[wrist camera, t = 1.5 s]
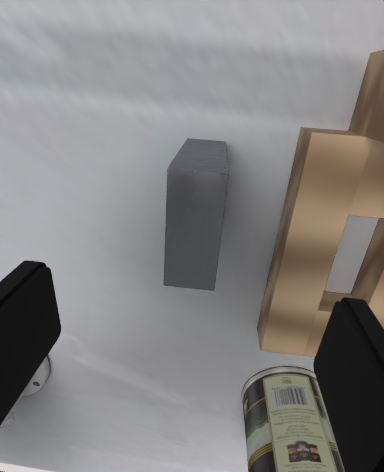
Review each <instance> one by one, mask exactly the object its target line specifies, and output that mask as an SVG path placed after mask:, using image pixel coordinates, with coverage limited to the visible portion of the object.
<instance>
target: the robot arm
mask: <svg viewBox="0 0 384 472" xmlns="http://www.w3.org/2000/svg"><path fill="white" fill-rule="evenodd" d="M60 332H61V324H60V319H59V313H58V307H57V302H56V296H55V291H54V285H53V280H52V274H51V270H50V268H48V267H46V264H45V263H43V262H35V261H24V262H22V263H21V264H20V265H19V266H18V267H17V268H15V269H14V270H13V271H12V272H11V273H10V274H9V275H7V276H6V277H5V278H4V279H3V280H2V281H1V282H0V427H1V426H2V424H3V425H4V426H9V425H11V424H12V423H13V422H14V420H15V417H14V413H13V410H14V408H15V406H16V405H17V403H18V402H19V400H20V399H21V397H26V396H29V395H32V394H34V393H36V392H38V391H39V390H40V389H41V388H42V386H43V385H44V383H45V382H46V380H47V378H48V375H49V369H50V367H49V362H48V359H47V357H46V356H47V355H48V353H49V351H50V350H51V348H52V347H53V345H54V344H55V342H56V341H57V339H58V338H59V336H60ZM314 372H315V376H316V379H317V382H318V385H319V389H320V392H321V395H322V398H323V402H324V405H325V408H326V411H327V415H328V418H329V421H330V424H331V428H332V431H333V434H334V437H335V441H336V444H337V447H338V451H339V454H340V457H341V460H342V464H343V467H344V470H345V472H384V329H383V327H382V326H381V324H380V322H379V321H378V319H377V318H376V316H375V315H374V313H373V312H372V310H371V309H370V307H369V305H368V304H367V302H366V301H365V300H363V299H356V298H347V297H344V298H342V299H341V301H336V302H335V304H334V307H333V310H332V312H331V315H330V318H329V321H328V323H327V326H326V329H325V332H324V334H323V337H322V340H321V343H320V345H319V348H318V351H317V354H316V356H315V359H314ZM0 472H3V471H0Z"/></svg>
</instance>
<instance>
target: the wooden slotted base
mask: <svg viewBox="0 0 384 472" xmlns="http://www.w3.org/2000/svg"><path fill="white" fill-rule="evenodd" d="M348 215H354V216H365V217H376V218H379V221H378V224H377V226H376V229H375V231H374V234H373V237H372V239H371V242H370V245H369V247H368V250H367V253H366V255H365V258H364V261H363V263H362V266H361V269H360V271H359V274H358V277H357V279H356V282H355V284H354V287H353V290H352V292H351V294H343V293H334V292H325V291H324V289H325V286H326V283H327V280H328V276H329V273H330V270H331V267H332V264H333V261H334V258H335V255H336V252H337V249H338V246H339V243H340V240H341V236H342V233H343V230H344V227H345V224H346V221H347V218H348ZM344 297H347V298H356V299H363V300H365V301H366V302H367V304H368V305H369V307H370V309H371V310H372V312H373V313H374V315H375V316H376V318H377V319H378V321H379V322H380V324H381V326H382V327H383V329H384V50H382V51H378V52H373V53H371V54H370V58H369V61H368V65H367V68H366V72H365V75H364V79H363V82H362V86H361V89H360V93H359V96H358V100H357V103H356V107H355V110H354V114H353V117H352V121H351V124H350V128H349V131H340V130H328V129H316V128H303V127H301V130H300V135H299V139H298V144H297V148H296V153H295V158H294V162H293V167H292V171H291V176H290V180H289V185H288V190H287V194H286V199H285V203H284V208H283V213H282V217H281V222H280V226H279V231H278V235H277V240H276V245H275V249H274V254H273V258H272V263H271V267H270V272H269V277H268V281H267V286H266V290H265V295H264V300H263V304H262V309H261V313H260V318H259V322H258V327H257V330H258V337H259V343H260V350H261V351H269V352H277V353H286V354H294V355H303V356H311V357H315V356H316V354H317V351H318V348H319V345H320V343H321V340H322V337H323V334H324V332H325V329H326V326H327V323H328V321H329V318H330V315H331V312H332V310H333V307H334V304H335V302H336V301H341V299H342V298H344Z"/></svg>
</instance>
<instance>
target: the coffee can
mask: <svg viewBox="0 0 384 472" xmlns="http://www.w3.org/2000/svg"><path fill="white" fill-rule="evenodd" d="M242 402H243V411H244V422H245V434H246V447H247V460H248V472H345V470H344V467H343V464H342V460H341V457H340V454H339V451H338V447H337V444H336V441H335V437H334V434H333V431H332V428H331V424H330V421H329V418H328V415H327V411H326V408H325V405H324V402H323V398H322V395H321V392H320V389H319V385H318V382H317V379H316V376H315V373H313V372H311V371H309V370H306V369H302V368H298V367H276V368H271V369H268V370H265V371H262V372H260V373H259V374H257V375H255V376H253V377H252V378H251V379H250V380H249V381H248V382H247V383H246V384H245V386H244V388H243V391H242Z"/></svg>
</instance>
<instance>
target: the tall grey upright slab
mask: <svg viewBox="0 0 384 472" xmlns="http://www.w3.org/2000/svg"><path fill="white" fill-rule="evenodd" d="M228 176H229V171H228V161H227V150H226V142H224V141H212V140H200V139H187V140H186V142H185V143H184V145H183V146H182V148H181V149H180V151H179V152H178V154H177V155H176V156H175V158H174V159H173V161H172V162H171V164H170V165H169V167H168V169H167V201H166V232H165V264H164V285H165V286H175V287H184V288H193V289H202V290H212V291H214V288H215V280H216V272H217V264H218V256H219V248H220V240H221V232H222V224H223V216H224V208H225V200H226V192H227V184H228Z"/></svg>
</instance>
